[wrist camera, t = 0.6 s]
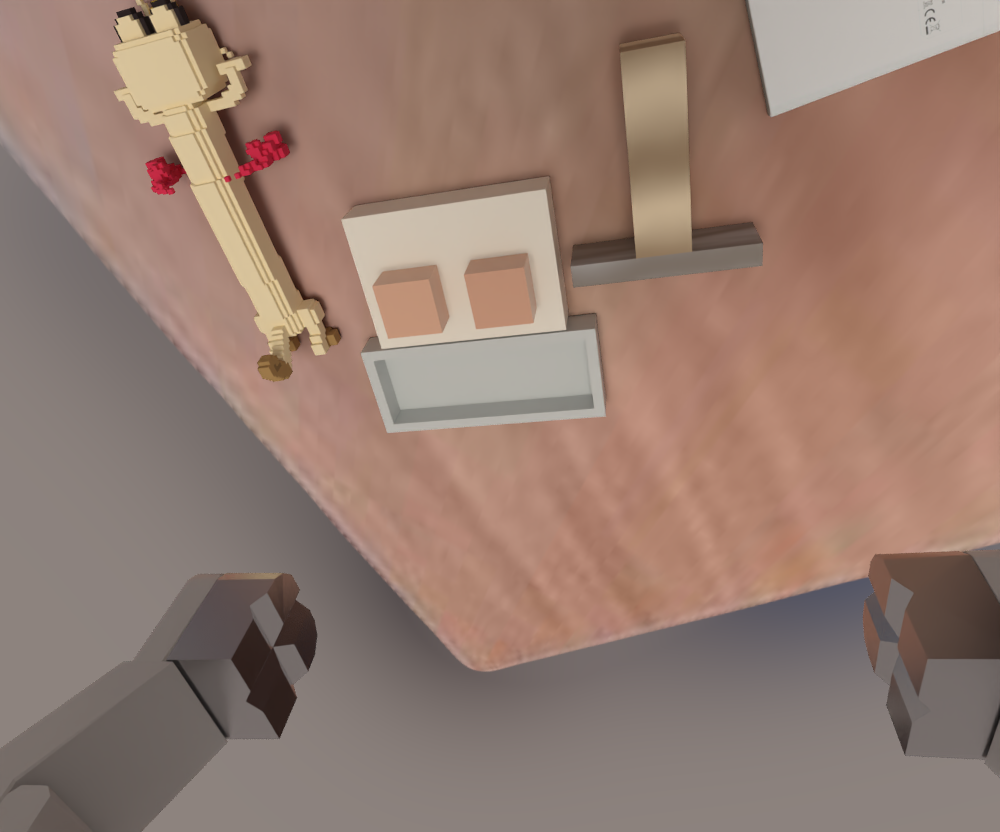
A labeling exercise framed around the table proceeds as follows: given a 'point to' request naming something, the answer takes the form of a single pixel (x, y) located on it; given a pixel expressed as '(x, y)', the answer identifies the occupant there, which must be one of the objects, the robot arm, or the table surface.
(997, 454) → the table surface
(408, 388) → the tray
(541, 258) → the board
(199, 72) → the beige long curved piece
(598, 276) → the scraper
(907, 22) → the external hard drive
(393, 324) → the tile
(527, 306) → the tile
